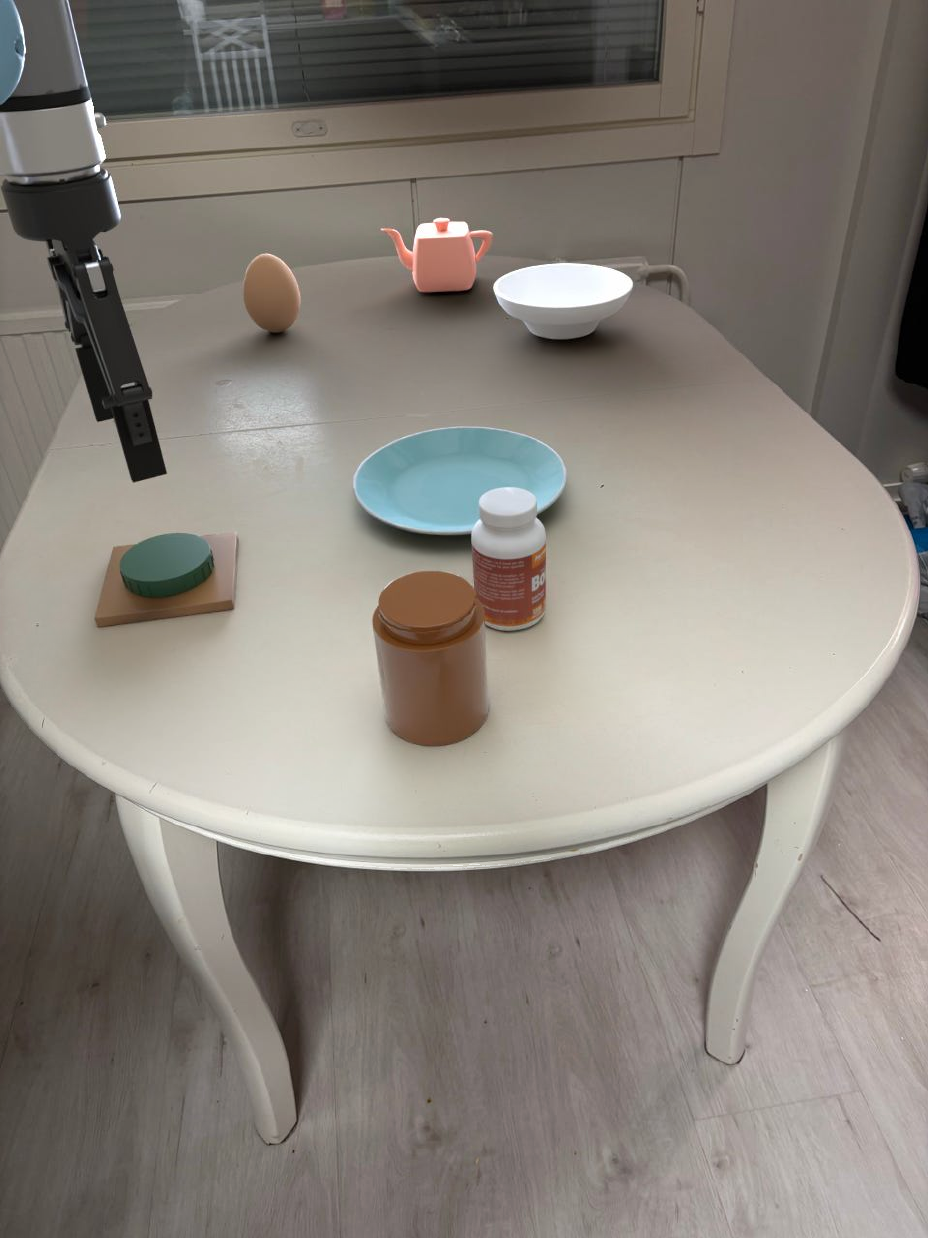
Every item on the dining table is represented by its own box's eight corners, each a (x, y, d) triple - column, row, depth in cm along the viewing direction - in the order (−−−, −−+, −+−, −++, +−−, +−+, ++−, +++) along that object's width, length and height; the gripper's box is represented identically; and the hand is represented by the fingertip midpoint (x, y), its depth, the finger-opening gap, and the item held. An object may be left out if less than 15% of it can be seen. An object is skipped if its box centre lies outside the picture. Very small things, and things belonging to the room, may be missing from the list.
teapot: (495, 293, 149) (493, 225, 143) (384, 299, 150) (377, 231, 144) (493, 272, 158) (492, 207, 152) (389, 277, 159) (383, 213, 153)
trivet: (97, 627, 82) (93, 618, 81) (115, 555, 91) (113, 546, 91) (234, 609, 83) (232, 600, 82) (238, 539, 92) (236, 531, 92)
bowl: (553, 300, 145) (553, 255, 141) (657, 326, 134) (661, 278, 130) (467, 336, 134) (464, 289, 130) (572, 368, 123) (573, 317, 119)
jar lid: (223, 546, 90) (219, 531, 89) (202, 596, 83) (198, 580, 82) (139, 549, 90) (134, 533, 89) (111, 599, 83) (106, 583, 82)
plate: (539, 567, 86) (539, 541, 84) (320, 539, 92) (316, 515, 90) (585, 458, 103) (586, 435, 101) (398, 440, 108) (396, 418, 107)
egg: (261, 345, 136) (246, 266, 129) (242, 329, 142) (227, 253, 135) (313, 332, 139) (301, 255, 132) (293, 317, 145) (281, 242, 138)
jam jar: (390, 753, 68) (374, 639, 61) (380, 683, 74) (365, 573, 67) (497, 737, 68) (493, 623, 62) (478, 669, 75) (473, 559, 68)
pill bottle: (546, 633, 78) (546, 520, 71) (473, 633, 78) (466, 520, 72) (545, 591, 83) (546, 481, 76) (476, 591, 83) (471, 482, 77)
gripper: (149, 195, 58) (216, 492, 71) (75, 141, 76) (138, 387, 89) (24, 213, 56) (117, 519, 68) (-23, 153, 73) (57, 405, 86)
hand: (129, 445), depth 78 cm, fingers open, 13 cm apart
